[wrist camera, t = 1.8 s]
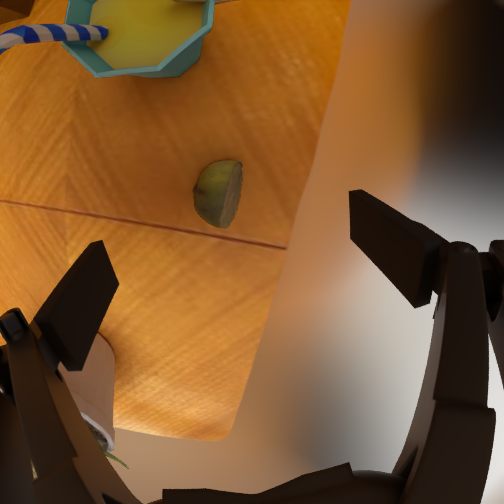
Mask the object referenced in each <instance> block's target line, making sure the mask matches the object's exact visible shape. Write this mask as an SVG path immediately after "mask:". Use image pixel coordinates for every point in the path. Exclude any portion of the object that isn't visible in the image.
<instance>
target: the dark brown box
mask: <svg viewBox="0 0 504 504" xmlns="http://www.w3.org/2000/svg"><path fill="white" fill-rule="evenodd" d="M33 2H34V0H0V24H2V23H6V22H9V21H13V20H16V19H20V18H24V17H28V16H29V14H30V11H31V8H32V5H33Z"/></svg>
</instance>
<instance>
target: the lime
mask: <svg viewBox="0 0 504 504" xmlns="http://www.w3.org/2000/svg"><path fill="white" fill-rule="evenodd" d="M242 166H243V165H242V163H241V162H238V161H235V160H223V161H217V162H214V163H212V164H210V165H208V166H207V167H206V168H205V169H204V170H203V171H202V172H201V174H200V176H199V179H198V181H197V183H196V185H195V186H194V188H193V194H194V206H195V209H196V211H197V213H198V214H199V216H200V217H201V218H202V219H203V220H205V221H206V222H207V223H209V224H211V225H213V226H215V227H218V228H228V227H229V226H230V223H231V222H232V220H233V219H234V217H235V214H236V211H237V209H238V207H237V206H238V204H239V200H240V196H241V186H242V181H243V174H242Z"/></svg>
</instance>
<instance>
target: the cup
mask: <svg viewBox="0 0 504 504" xmlns="http://www.w3.org/2000/svg"><path fill="white" fill-rule="evenodd" d="M230 1H236V0H69V2H68V7H67V12H66V17H65V23H64V24H34V25H21V26H19V27H16V28H13V29H10V30H8V31H6V32H4V33H2V34H0V55H1V54H2V52H4V51H5V50H7V49H9V48H11V47H13V46H15V45H19V44H28V43H38V42H50V41H62V43H61V46H62V47H63V48H65V49H66V50H67V51H68V52H69V53H70V54H71V55H72V56H73V57H74V58H75V59H76V60H77V61H78V62H80V63H81V64H82V65H83V66H84V67H85V68H86V69H87V70H88V71H89V72H90V73H91V74H92V75H93V76H94V77H95V78H105V77H112V76H120V75H133V76H141V77H148V78H166V77H180V76H181V75H182V74H183V73H184V72H185V71H186V70H188V69H189V68H190V67H191V66H192V65H193V64H195V63H196V62H197V61H198V60H199V58H200V52H201V47H202V42H203V37H204V36H205V35H206V34H207V33H209V32H210V30H211V28H212V24H213V14H214V5H215V4H220V3H225V2H230Z"/></svg>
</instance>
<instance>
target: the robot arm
mask: <svg viewBox="0 0 504 504" xmlns="http://www.w3.org/2000/svg"><path fill="white" fill-rule="evenodd" d="M349 207H350V239H351V240H352V241H353V242H354V243H355V244H356V245H357V246H358V247H359V248H360V249H361V250H362V251H363V252H364V253H365V254H366V256H367V257H368V258H370V260H371V261H372V262H373V263H374V264H375V265H376V266H377V267H378V268H379V269H380V270H381V271H382V272H383V274H384V275H385V276H386V277H387V278H388V279H389V280H390V281H391V282H392V283H393V284H394V286H395V287H396V288H397V289H398V290H399V291H400V292H401V293H402V294H403V296H404V297H405V298H406V299H407V300H408V301H409V302H410V304H411V305H412V306H413V307H414V308H418V307H421V306H424V305H427V304H429V303H430V300H431V295H432V291H434V292H435V293H436V294H437V295H438V299H437V303H436V307H435V311H434V315H433V319H434V326H433V333H432V339H431V345H430V350H429V356H428V361H427V366H426V370H425V375H424V379H423V383H422V388H421V392H420V396H419V399H418V403H417V407H416V410H415V414H414V417H413V420H412V424H411V427H410V430H409V433H408V436H407V439H406V442H405V445H404V448H403V450H402V453H401V455H400V457H399V459H398V461H397V463H396V465H395V467H394V469H393V471H392V473H391V474H390V473H385V472H380V471H370V470H366V471H365V470H363V471H362V470H359V471H352V469H351V466H350V463H349V462H348V463H345V464H342V465H338V466H334V467H331V468H328V469H324V470H320V471H316V472H312V473H308V474H304V475H301V476H299V477H297V478H295V479H293V480H290V481H288V482H286V483H284V484H281V485H279V486H276V487H274V488H272V489H269V490H266V491H264V492H261V493H258V494H243V493H234V492H226V491H219V490H212V489H206V488H205V489H204V488H203V489H163V493H162V499H160V500H157V501H153V502H150V503H148V504H480V503H481V499H482V496H483V492H484V488H485V484H486V480H487V475H488V470H489V465H490V460H491V454H492V448H493V441H494V433H495V425H496V412H495V410H494V408H488V406H487V399H488V381H489V340H488V334H489V337H490V340H491V343H492V346H493V350H494V353H495V356H496V360H497V364H498V367H499V371H500V375H501V379H502V384H503V388H504V240H493V241H491V243H490V247H489V252H478V250H477V249H476V248H475V247H474V246H473V245H471V244H469V243H466V242H461V241H455V242H451V243H450V242H448V241H447V240H445V239H444V238H443V237H441V236H440V235H438V234H437V233H435V232H434V231H432V230H431V229H430V230H429V228H428V227H426V226H425V225H423V224H421V223H419V222H416V221H413V220H411V219H409V218H407V217H406V216H405V215H403V214H401V213H400V212H398V211H397V210H395V209H394V208H392V207H390V206H389V205H387V204H385V203H384V202H382V201H381V200H379V199H377V198H376V197H374V196H372V195H370V194H368V193H367V192H365V191H364V190H362V189H361V190H353V191H349ZM118 286H119V282H118V279H117V277H116V275H115V272H114V270H113V267H112V264H111V262H110V259H109V257H108V254H107V251H106V249H105V246H104V243H103V240H100V241H96V242H92V243H90V244H89V245H88V247H87V248H86V249H85V250H84V251H83V253H82V254H81V255H80V256H79V257H78V259H77V260H76V261H75V262H74V264H73V265H72V266H71V268H70V269H69V270H68V271H67V273H66V274H65V275H64V277H63V278H62V279H61V280H60V282H59V283H58V284H57V286H56V287H55V288H54V290H53V291H52V293H51V294H50V295H49V297H48V298H47V300H46V301H45V302H44V304H43V305H42V307H41V308H40V309H39V311H38V312H37V314H36V315H35V317H34V318H33V320H32V321H31V323H30V324H28V322H27V321H26V319H25V317H24V316H23V314H22V312H21V310H20V309H19V308H13V309H10V310H8V311H7V312H5V313H4V314H3V315H2V316H1V317H0V333H1V334H2V336H3V338H4V339H5V341H6V342H7V344H6V345H3V346H0V389H1V390H2V392H1V391H0V504H142V503H141V502H140V501H139V500H138V499H137V498H136V497H135V496H134V495H133V494H132V493H131V492H130V490H129V489H128V488H127V486H126V485H125V484H124V482H123V481H122V480H121V478H120V477H119V475H118V474H117V473H116V471H115V470H114V468H113V467H112V465H111V464H110V462H109V461H108V459H107V458H106V456H105V454H104V453H103V451H102V450H101V448H100V446H99V445H98V443H97V441H96V440H95V438H94V436H93V435H92V433H91V431H90V429H89V428H88V426H87V424H86V422H85V420H84V419H83V417H82V415H81V413H80V411H79V409H78V407H77V405H76V403H75V401H74V399H73V397H72V395H71V393H70V391H69V389H68V386H67V384H66V382H65V380H64V377H63V375H62V373H61V372H60V371H59V369H58V365H59V363H60V361H61V363H62V364H63V366H64V367H65V368H66V370H67V371H68V372H72V371H82V369H83V367H84V364H85V362H86V359H87V357H88V354H89V352H90V349H91V347H92V344H93V342H94V339H95V337H96V334H97V332H98V330H99V327H100V325H101V323H102V321H103V318H104V316H105V314H106V312H107V309H108V307H109V305H110V303H111V301H112V298H113V296H114V294H115V292H116V290H117V288H118ZM31 460H32V462H31ZM32 463H33V466H34V468H35V471H36V474H37V477H38V478H37V479H35V480H34V478H33V471H32Z"/></svg>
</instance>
